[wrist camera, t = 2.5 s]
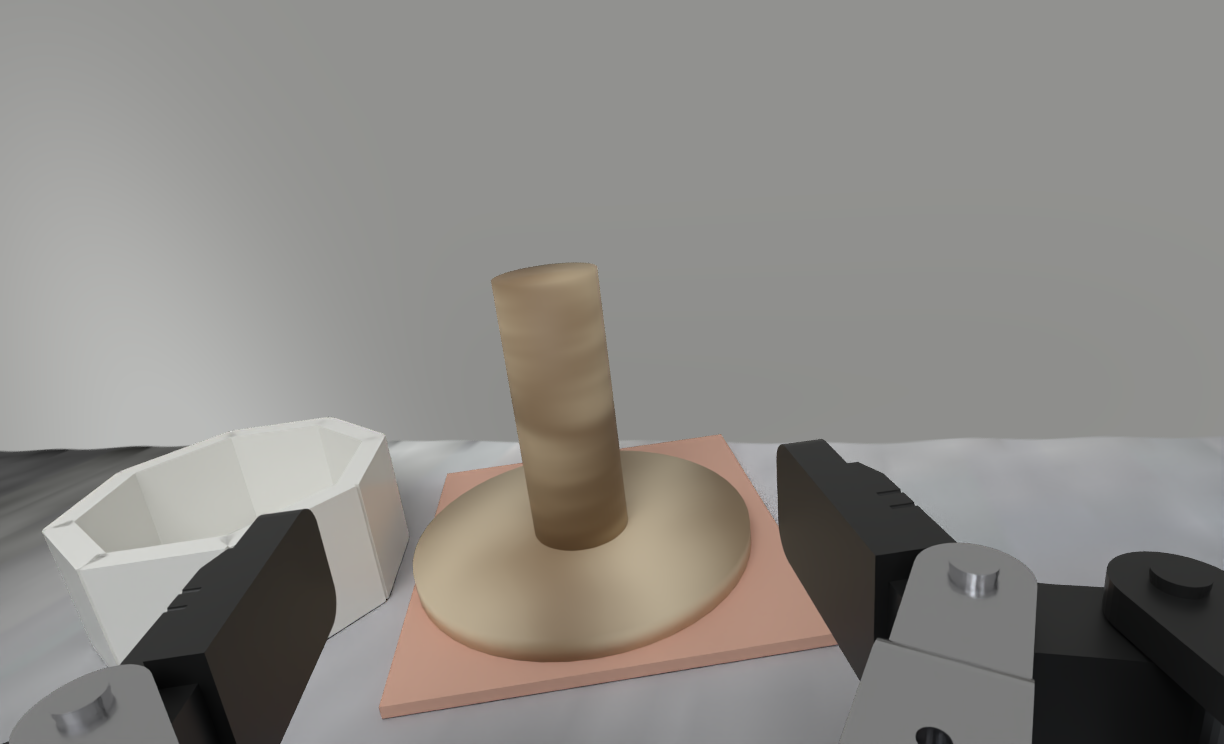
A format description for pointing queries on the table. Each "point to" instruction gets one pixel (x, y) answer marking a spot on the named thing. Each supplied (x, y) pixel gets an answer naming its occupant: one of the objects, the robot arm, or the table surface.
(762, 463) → the table surface
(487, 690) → the mat
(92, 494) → the bowl
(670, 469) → the paper towel holder
